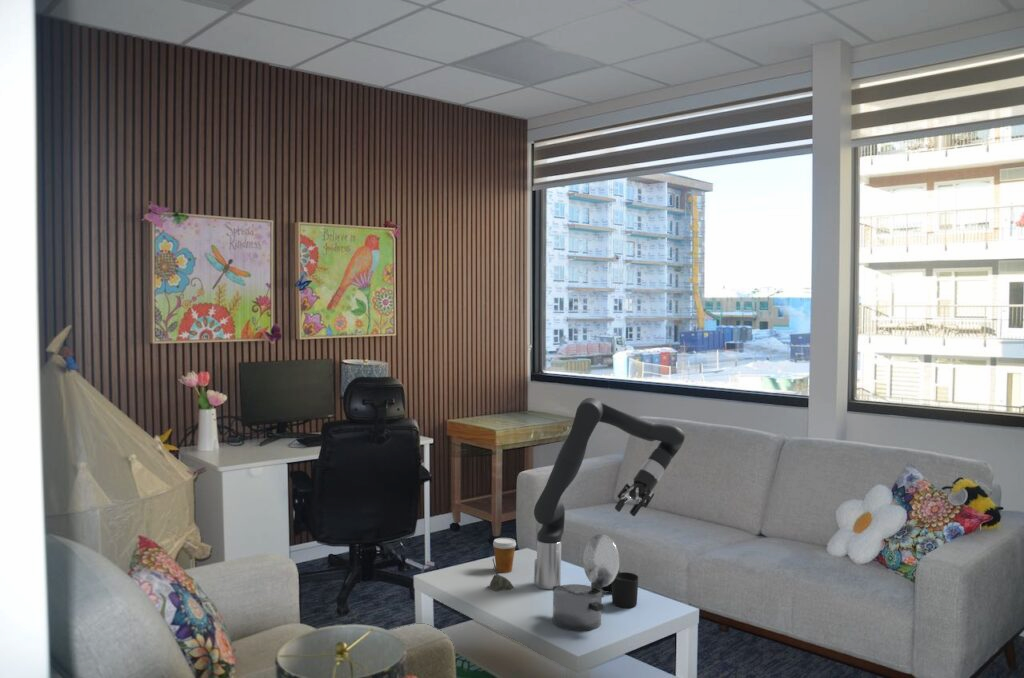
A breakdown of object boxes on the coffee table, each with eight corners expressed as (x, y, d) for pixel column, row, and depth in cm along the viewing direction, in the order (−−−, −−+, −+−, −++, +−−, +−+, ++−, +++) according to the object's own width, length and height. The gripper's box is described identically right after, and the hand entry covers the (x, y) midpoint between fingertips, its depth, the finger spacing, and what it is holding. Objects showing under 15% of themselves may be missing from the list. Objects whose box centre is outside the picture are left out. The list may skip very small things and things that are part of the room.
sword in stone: (506, 583, 301) (508, 552, 301) (516, 590, 294) (518, 558, 294) (483, 586, 296) (484, 555, 296) (493, 593, 289) (494, 561, 289)
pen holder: (640, 608, 275) (641, 580, 275) (614, 608, 274) (614, 580, 274) (634, 599, 284) (635, 572, 284) (608, 599, 284) (609, 572, 284)
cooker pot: (577, 606, 276) (577, 578, 276) (621, 627, 257) (622, 597, 257) (537, 615, 266) (537, 586, 266) (580, 638, 247) (580, 606, 247)
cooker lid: (579, 580, 272) (585, 581, 274) (612, 594, 258) (618, 594, 260) (587, 529, 274) (593, 530, 276) (620, 540, 260) (626, 541, 262)
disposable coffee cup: (507, 575, 310) (507, 545, 310) (487, 571, 315) (488, 541, 315) (520, 569, 318) (520, 540, 318) (500, 565, 323) (501, 536, 323)
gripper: (630, 466, 282) (605, 502, 276) (655, 471, 269) (630, 509, 264) (642, 479, 284) (618, 515, 279) (668, 484, 272) (643, 522, 266)
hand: (624, 512), depth 271 cm, fingers open, 8 cm apart
